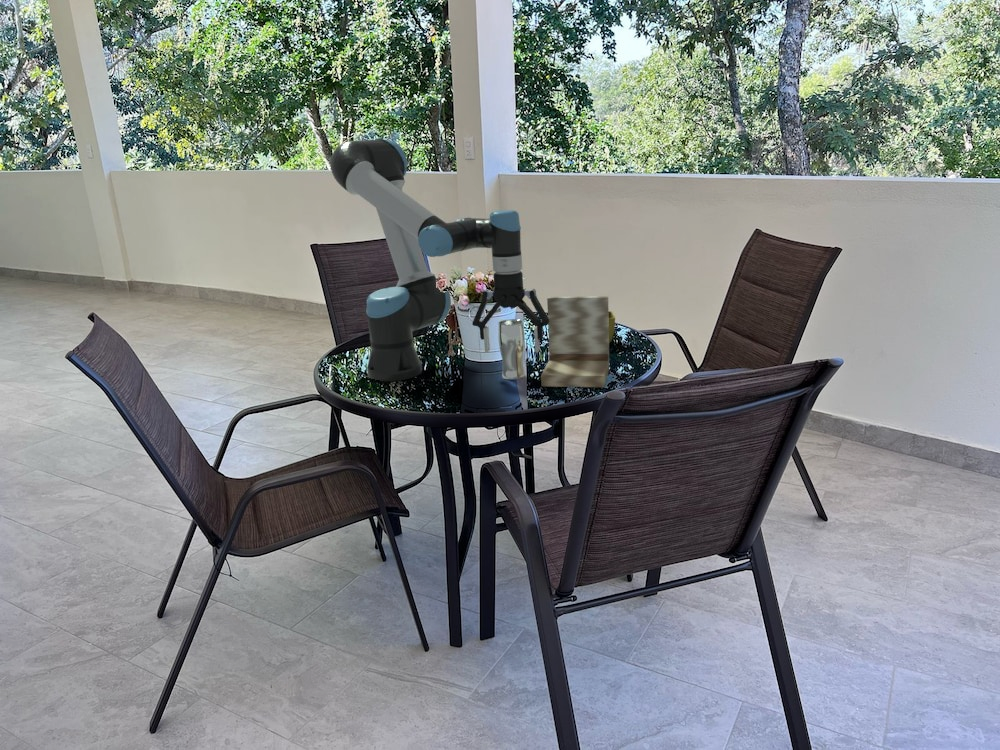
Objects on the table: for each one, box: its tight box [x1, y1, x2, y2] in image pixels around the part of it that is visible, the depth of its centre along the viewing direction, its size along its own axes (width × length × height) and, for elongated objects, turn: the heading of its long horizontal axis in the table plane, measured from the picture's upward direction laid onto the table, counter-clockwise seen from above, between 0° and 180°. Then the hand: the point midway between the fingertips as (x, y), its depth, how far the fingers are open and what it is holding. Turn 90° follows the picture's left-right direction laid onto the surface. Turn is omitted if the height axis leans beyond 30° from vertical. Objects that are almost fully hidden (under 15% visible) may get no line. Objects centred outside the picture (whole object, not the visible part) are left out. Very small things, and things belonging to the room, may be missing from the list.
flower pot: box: [609, 310, 616, 344], centre depth 230 cm, size 9×9×9 cm
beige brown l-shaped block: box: [540, 295, 610, 388], centre depth 198 cm, size 16×16×20 cm
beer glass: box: [497, 318, 526, 381], centre depth 203 cm, size 7×7×15 cm
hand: (512, 351), depth 203 cm, fingers open, 13 cm apart
